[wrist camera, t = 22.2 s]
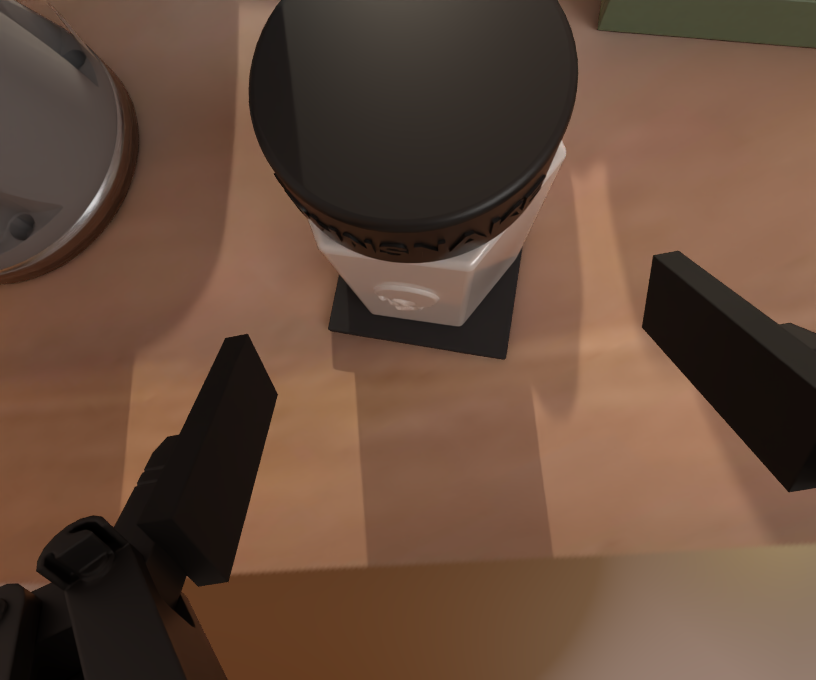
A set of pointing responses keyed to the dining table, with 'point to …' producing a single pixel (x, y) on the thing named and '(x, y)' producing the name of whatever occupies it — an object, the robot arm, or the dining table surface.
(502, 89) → the jar
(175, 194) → the dining table surface
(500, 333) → the mat
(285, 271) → the dining table surface
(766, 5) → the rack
